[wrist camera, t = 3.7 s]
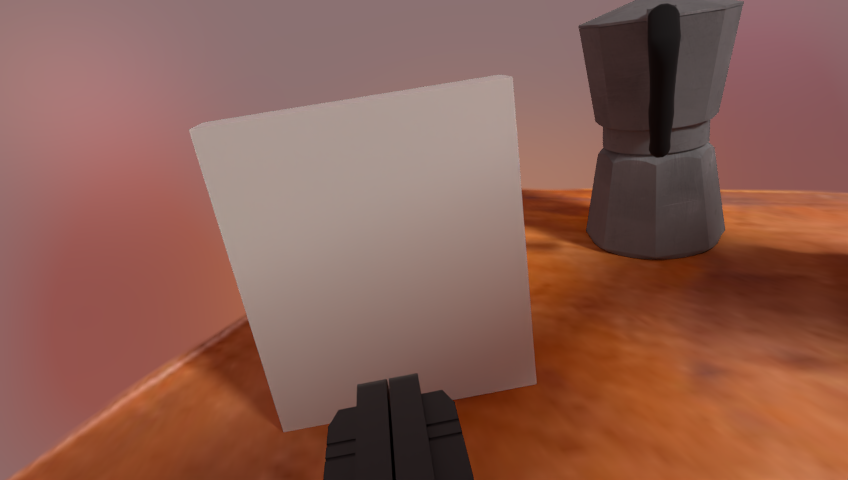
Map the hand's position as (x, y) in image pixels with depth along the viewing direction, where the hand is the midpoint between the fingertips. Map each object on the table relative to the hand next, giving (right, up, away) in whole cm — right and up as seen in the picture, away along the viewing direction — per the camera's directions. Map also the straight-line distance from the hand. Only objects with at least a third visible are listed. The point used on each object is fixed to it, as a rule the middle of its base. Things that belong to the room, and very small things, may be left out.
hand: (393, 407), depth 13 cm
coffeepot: (+17, +4, +24) cm, 30 cm away
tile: (0, -3, +12) cm, 13 cm away
